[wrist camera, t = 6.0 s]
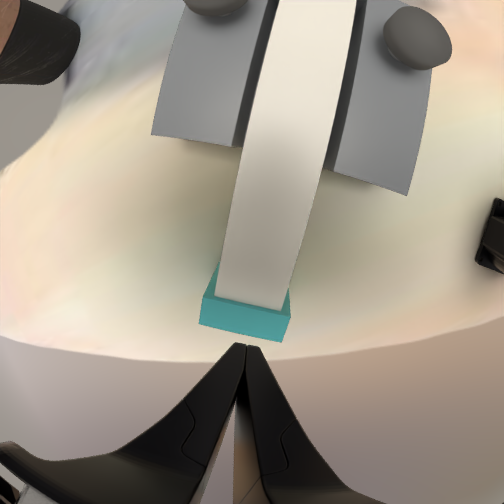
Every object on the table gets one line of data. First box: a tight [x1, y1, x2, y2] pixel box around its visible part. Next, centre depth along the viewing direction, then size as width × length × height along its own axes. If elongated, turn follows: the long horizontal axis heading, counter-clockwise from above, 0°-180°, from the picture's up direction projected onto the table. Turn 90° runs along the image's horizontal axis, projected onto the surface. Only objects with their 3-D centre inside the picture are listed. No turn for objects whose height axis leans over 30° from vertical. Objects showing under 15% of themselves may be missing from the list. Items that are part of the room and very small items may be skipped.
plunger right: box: [383, 6, 452, 70], centre depth 8 cm, size 3×3×1 cm
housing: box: [151, 0, 432, 196], centre depth 13 cm, size 14×12×7 cm
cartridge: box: [199, 0, 356, 342], centre depth 15 cm, size 5×21×5 cm, turn 168°
